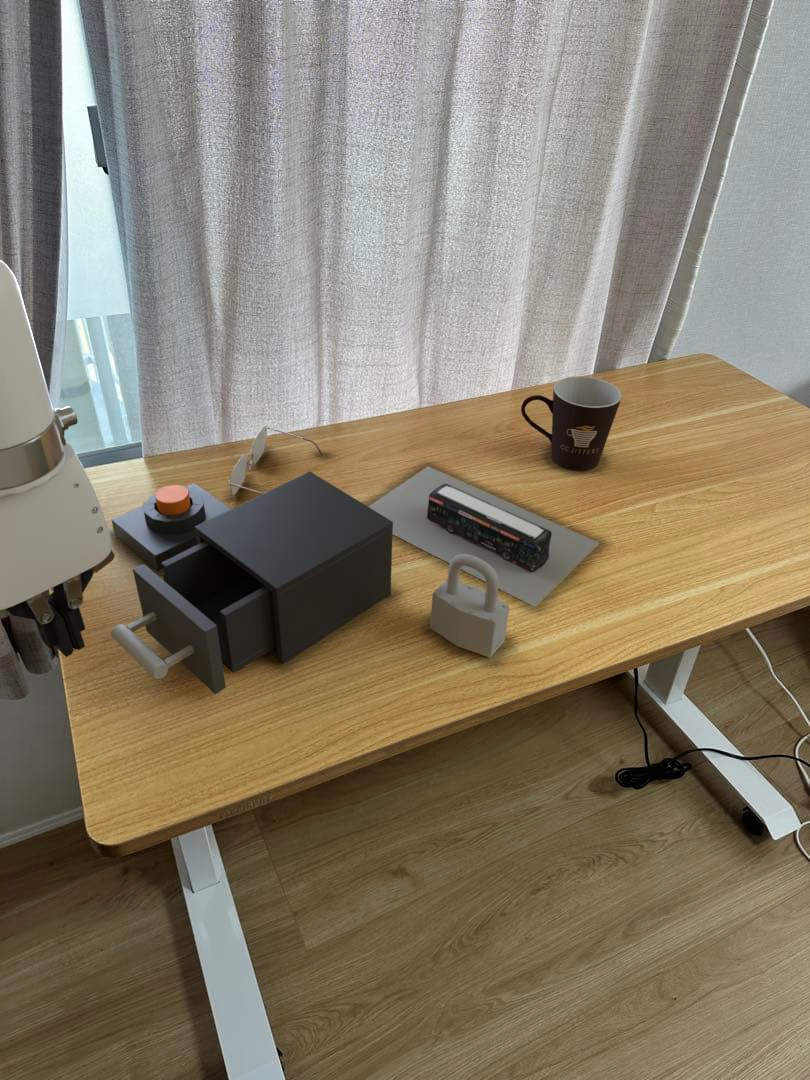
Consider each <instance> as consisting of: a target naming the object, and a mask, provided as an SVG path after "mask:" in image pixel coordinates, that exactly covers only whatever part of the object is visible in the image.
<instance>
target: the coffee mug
mask: <svg viewBox="0 0 810 1080" xmlns="http://www.w3.org/2000/svg"><path fill="white" fill-rule="evenodd" d="M552 388H553V389H552V391H553V392H552V395H553V396H552V399H550V398H547V397H546V396H544V395H541V394H540V395H539V394H535V395H530V396H528V397H527V398H525V399H524V400H523V401H522V404H521V407H520V413H521V415H522V417H523V418H524V420H525V421H526V422H527V423H528V425H530V426H531V427H532V428H533V429H535V430H536V431H538V432H539V433H540V434H542V435H543V436H544V437H546V438H547V439H548V440H549V442H550V443H551V444H550V445H551V447H550V457H551V461H552V462H553V463H554V464H555V465H556V466H558V467H560V468H562V469H564V470H568V471H572V472H588V471H591V470H593V469H595V468H596V467H598V465H599V463H600V460H601V457H602V455H603V452H604V449H605V446H606V444H607V440H608V438H609V435H610V432H611V429H612V426H613V424H614V422H615V421H614V420H615V418H616V415H617V413H618V409H619V406H620V404H621V401H622V399H623V394H622V391H621V390H620V389H619V388H618V387H617V386H616V385H614V384H613V383H611V382H609V381H607V380H604V379H601V378H597V377H593V376H585V375H584V376H583V375H575V376H567V377H564V378H563V377H562V378H561V379H559V380H557V381H556V382H555V383H554V385H553V387H552ZM533 401H541V402H543V403H545V404H546V405H547V407H548V410H549V411H550V413H551V415H552V417H551V418H552V420H551V433H550V432H548V431H547V430H545V429H544V428H542V427H541V426H540V425H539V424H537V423H536V422H534V420H532V419H531V418H530V417H529V415H528V414H527V412H526V407H527V406H528V404H529V403H532V402H533Z"/></svg>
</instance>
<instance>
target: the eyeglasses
mask: <svg viewBox="0 0 810 1080" xmlns="http://www.w3.org/2000/svg"><path fill="white" fill-rule="evenodd" d="M268 430H271V431H274V432H279V433H282V434H285V435H287V436H292V437H296V438H299V439H302V440H305V441H307V442H311V443H313V445H314V446H315V447H316V449H317V451H318V453H319V454H320V455H321V456H324V454H323V452H322V451H321V449H320V448H319V446H318V445H317V443H316V442H314V440H311V439H308V438H305V437H301V436H298V435H295V434H292V433H289V432H285V431H283V430H280V429H276V428H274V427H270V426H267V425H264V426H263V427H262V428H261V429H260V430H259V432H257V434H256V435H255V438H254V439H253V441H252V444H251V448H250V451H249V452H248V454H247V453H244V454H243V455H242V456H240V458H239V460H238V461H237V462H236V464H235V465H234V467H233V469H232V470H231V473H230V477H229V479H228V481H227V484H228V485H230V492H231V495H232V496H234V495H236V494H237V492H238V491H239V490H240V489H243V490H247V491H251V492H254V493H256V494H259V495H262V494H264V493H265V492H261V491H258V490H254V489H251V488H249V487H245V486H242V484H243V483H244V482H245V478H246V475H247V471H251V470H252V468H253V465H255V464H256V463H257V462H258V461H259V460H260V458H262V455H263V453H264V451H265V449H266V444H267V435H268V434H267V433H268ZM250 454H251V455H250ZM249 456H251V459H249V458H248V457H249ZM248 459H249V460H248ZM247 469H248V470H247Z"/></svg>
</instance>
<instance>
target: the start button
mask: <svg viewBox="0 0 810 1080" xmlns="http://www.w3.org/2000/svg"><path fill="white" fill-rule="evenodd" d="M185 487H186V486H184V485H180V484H170V485H164V486H163V487H160V488H159V489H158V490H157V491H156V492H155V493H156V495H155V498H156V503H157V508H158V511H159V512H160V513H162V514H165V515H176V514H181V513H183V512H186V511H187V510H188V509H189V508H190V498H189V492H188V490H187V488H185Z"/></svg>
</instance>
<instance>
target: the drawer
mask: <svg viewBox="0 0 810 1080" xmlns="http://www.w3.org/2000/svg"><path fill="white" fill-rule="evenodd" d="M161 565H162V570H161V571H162V573H163V574H162V575H163V578H161V577H160V576H159V575H158V574H156V573H155V572H154V570H152V569H151V568H149V566H147V565H146V564H145V563H142V564H141V565H139V566H137V567H135V568H133V569H132V573H133V577H134V582H135V586H136V590H137V595H138V599H139V604H140V609H141V613H142V617H140V618H138V619H136V620H134V621H132V622H131V623H129V624H126V625H125V624H124V623H120V624H115V626H114V627H112V629H111V632H110V636H111V637H112V638H113V640H114V641H116V643H118V644H119V645H120V646H121V647H122V648H123V649H124V650H125V651H126V652H127V653H128V654H129V655H130V656H131V658H132V659H134V660H135V661H136V662H137V663H138V664H139V665H140V666H141V667H142V668H143V669H144V670H145V671H147V673H148V674H149V675H150V676H151V677H153V679H155V680H160V679H163V678H164V677H165V676H166V675H167V674H168V672H169V668H171V667H173V666H174V665H176V664H178V663H180V664H181V665H182V666H183V667H185V668H186V669H187V670H188V671H189V672H190V673H191V674H192V675H193V676H194V677H195V678H196V679H198V680H199V681H200V682H201V683H202V684H203V685H204V686H205V687H206V688H207V689H208V690H209V691H210V692H211V693H213V694H214V695H217V694H219V693H220V692H222V691H224V690H225V689H226V688H227V686H226V680H225V672H224V667H225V668H226V669H227V670H228V671H229V672H231V673H232V674H235V673H237V672H238V671H240V670H241V669H243V668H245V667H246V666H247V665H249V664H251V663H253V662H255V661H256V660H257V659H259V658H261V657H262V656H264V655H265V654H268V651H270V650H272V649H273V648H275V647H276V646H277V644H276V633H275V621H274V610H273V598H272V591H271V590H270V589H268V588H267V587H266V586H264V585H263V584H262V583H260V582H259V581H258V580H257V579H255V578H254V577H253V576H251V575H250V574H249V573H247V572H246V571H245V570H243V569H242V568H241V567H239V566H238V565H237V564H236V563H234V562H233V561H232V560H230V559H229V558H228V557H226V556H225V555H224V554H222V553H221V552H220V551H218V550H217V549H216V548H214V547H213V546H212V545H211V544H209V543H208V542H207V541H204V542H202V543H200V544H198V545H196V546H194V547H192V548H190V549H188V550H186V551H184V552H182V553H180V554H178V555H176V556H174V557H172V558H170V559H168V560H166V561H164V562H162V563H161ZM143 627H145V631H146V632H147V633H148V634H149V635H150V636H151V637H152V638H153V639H154V640H155V641H157V642H158V644H160V646H162V647H163V648H164V649H165V650H166V651H167V652H168V653H169V654H171V655H170V656H169V657H166V658H165V659H162V658H160V657H159V655H157V654H156V653H155V652H154V651H153V649H151V648H150V647H149V646H148V645H147V644H146V643H145V642H143V640H141V638H139V637H138V636H137V635H136V634H135V632H136V631H138V630H140V629H142V628H143Z"/></svg>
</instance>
